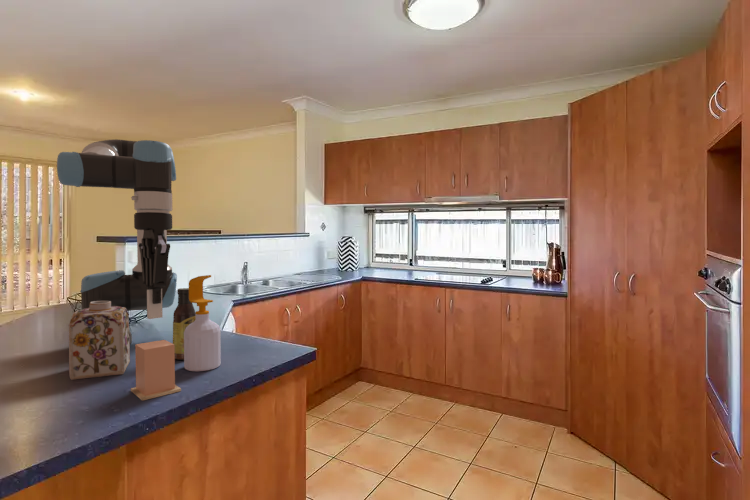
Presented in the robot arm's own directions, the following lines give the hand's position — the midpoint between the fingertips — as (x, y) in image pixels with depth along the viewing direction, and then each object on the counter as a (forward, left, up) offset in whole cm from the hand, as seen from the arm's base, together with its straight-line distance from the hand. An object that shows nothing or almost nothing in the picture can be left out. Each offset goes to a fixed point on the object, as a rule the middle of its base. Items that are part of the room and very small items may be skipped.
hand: (154, 317), depth 95 cm
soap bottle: (-10, +15, -17) cm, 25 cm away
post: (0, 0, -17) cm, 17 cm away
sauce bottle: (-22, +15, -17) cm, 32 cm away
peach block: (0, 0, -16) cm, 16 cm away
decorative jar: (-25, -5, -17) cm, 31 cm away
